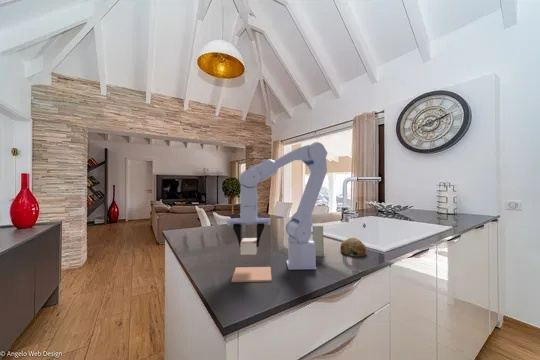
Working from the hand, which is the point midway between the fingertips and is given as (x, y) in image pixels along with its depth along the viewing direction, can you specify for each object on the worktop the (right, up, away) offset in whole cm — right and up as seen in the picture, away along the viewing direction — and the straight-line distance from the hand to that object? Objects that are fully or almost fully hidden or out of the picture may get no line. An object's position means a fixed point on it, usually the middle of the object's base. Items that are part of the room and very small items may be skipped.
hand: (249, 246), depth 73 cm
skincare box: (+27, -9, +17) cm, 33 cm away
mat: (+1, -8, -3) cm, 9 cm away
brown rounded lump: (+42, -9, +19) cm, 47 cm away
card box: (0, -2, 0) cm, 2 cm away
